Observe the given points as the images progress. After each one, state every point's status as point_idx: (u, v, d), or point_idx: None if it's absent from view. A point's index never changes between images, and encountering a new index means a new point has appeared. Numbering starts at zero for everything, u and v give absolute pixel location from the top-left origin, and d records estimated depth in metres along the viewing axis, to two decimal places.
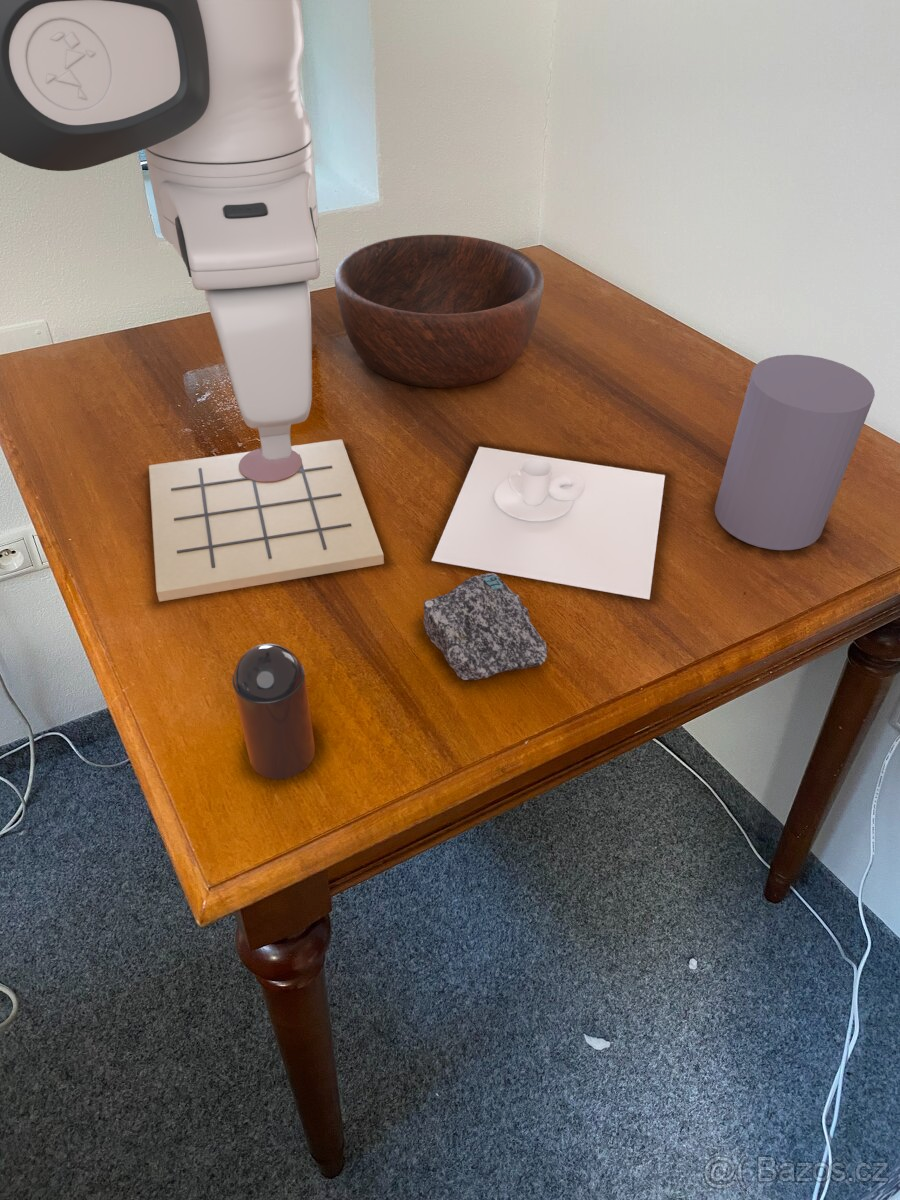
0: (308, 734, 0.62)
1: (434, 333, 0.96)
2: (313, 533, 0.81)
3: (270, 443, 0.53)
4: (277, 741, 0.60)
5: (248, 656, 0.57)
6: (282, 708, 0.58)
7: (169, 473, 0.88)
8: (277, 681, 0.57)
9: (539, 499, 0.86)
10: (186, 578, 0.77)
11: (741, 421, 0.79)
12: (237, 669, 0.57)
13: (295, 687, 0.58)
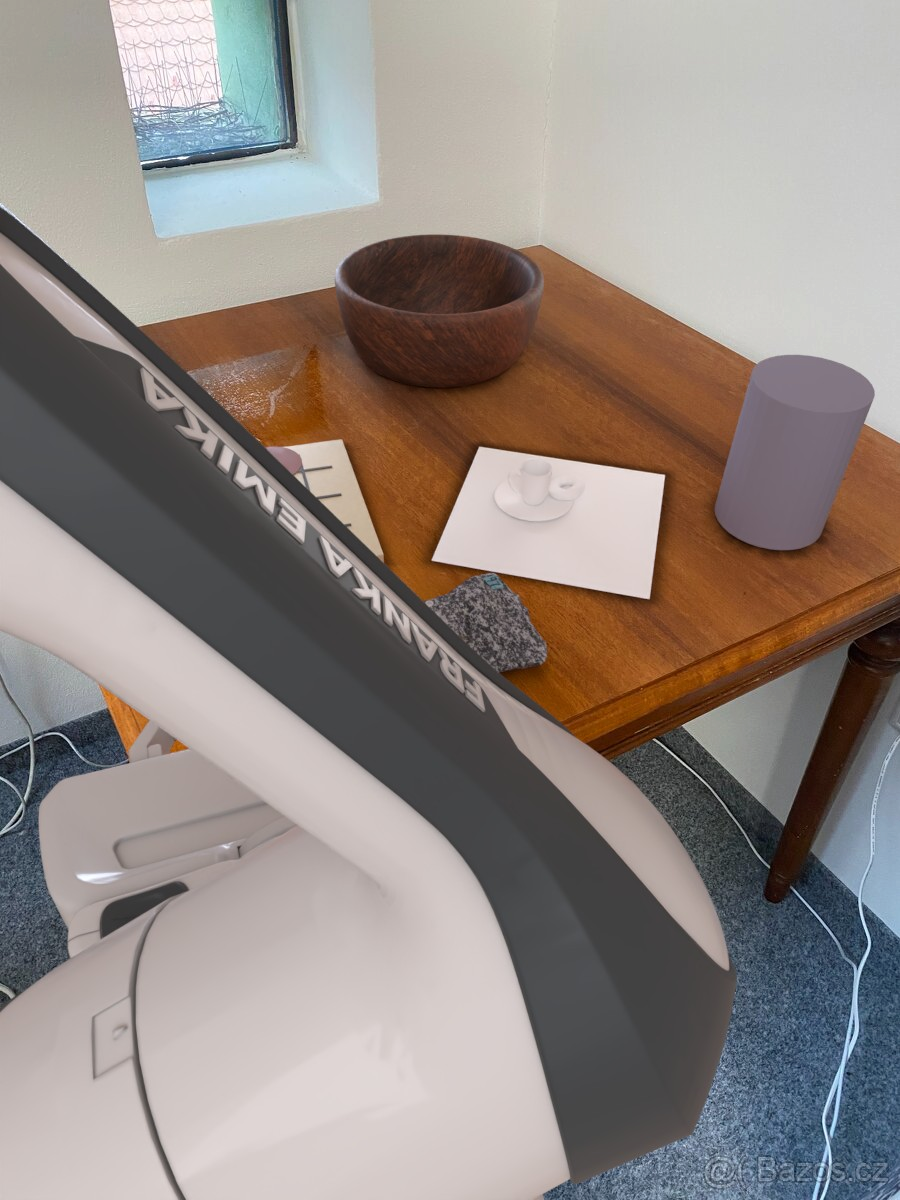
0: None
1: (434, 333, 0.96)
2: None
3: None
4: None
5: None
6: None
7: None
8: None
9: (539, 499, 0.86)
10: None
11: (741, 421, 0.79)
12: None
13: None
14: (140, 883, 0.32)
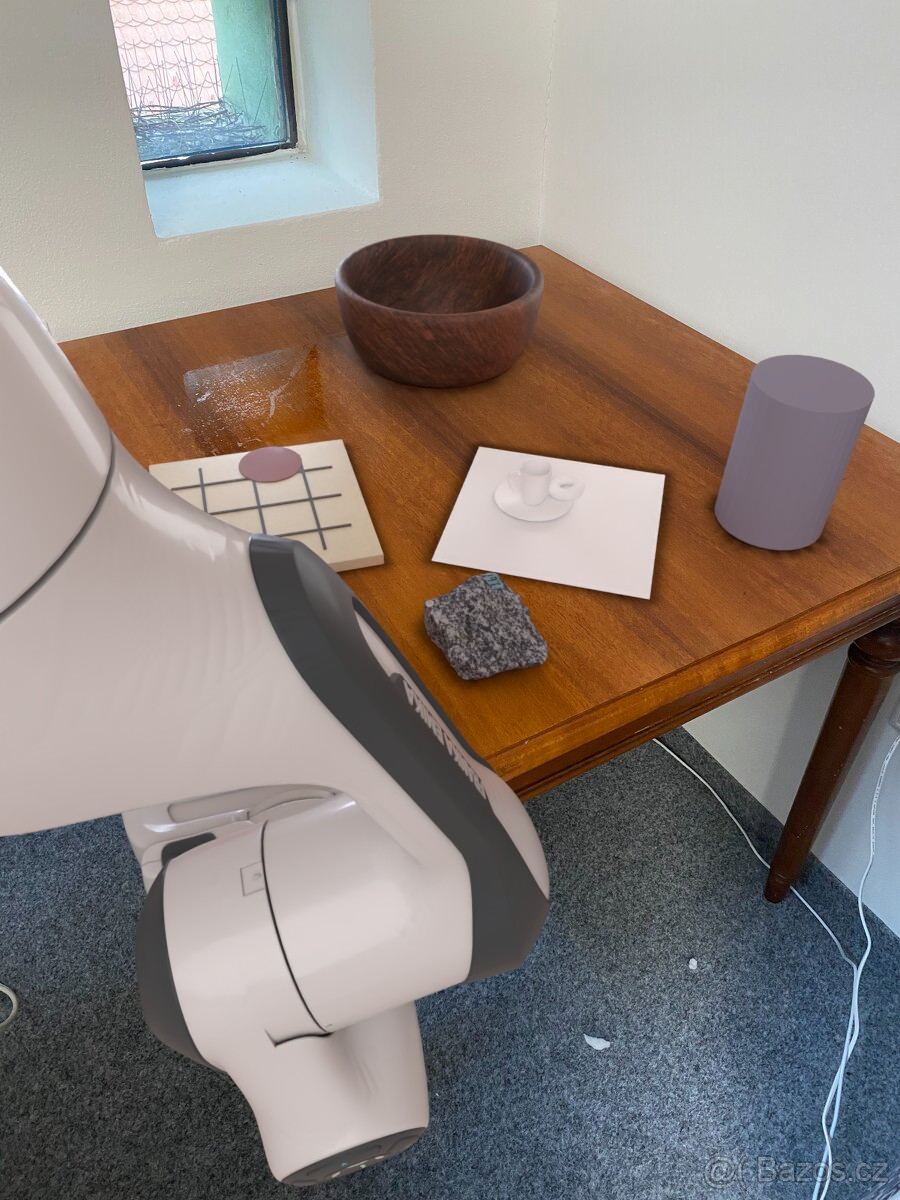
0: None
1: (434, 333, 0.96)
2: (313, 533, 0.81)
3: None
4: None
5: None
6: None
7: (169, 473, 0.88)
8: None
9: (539, 499, 0.86)
10: None
11: (741, 421, 0.79)
12: None
13: None
14: (185, 832, 0.50)
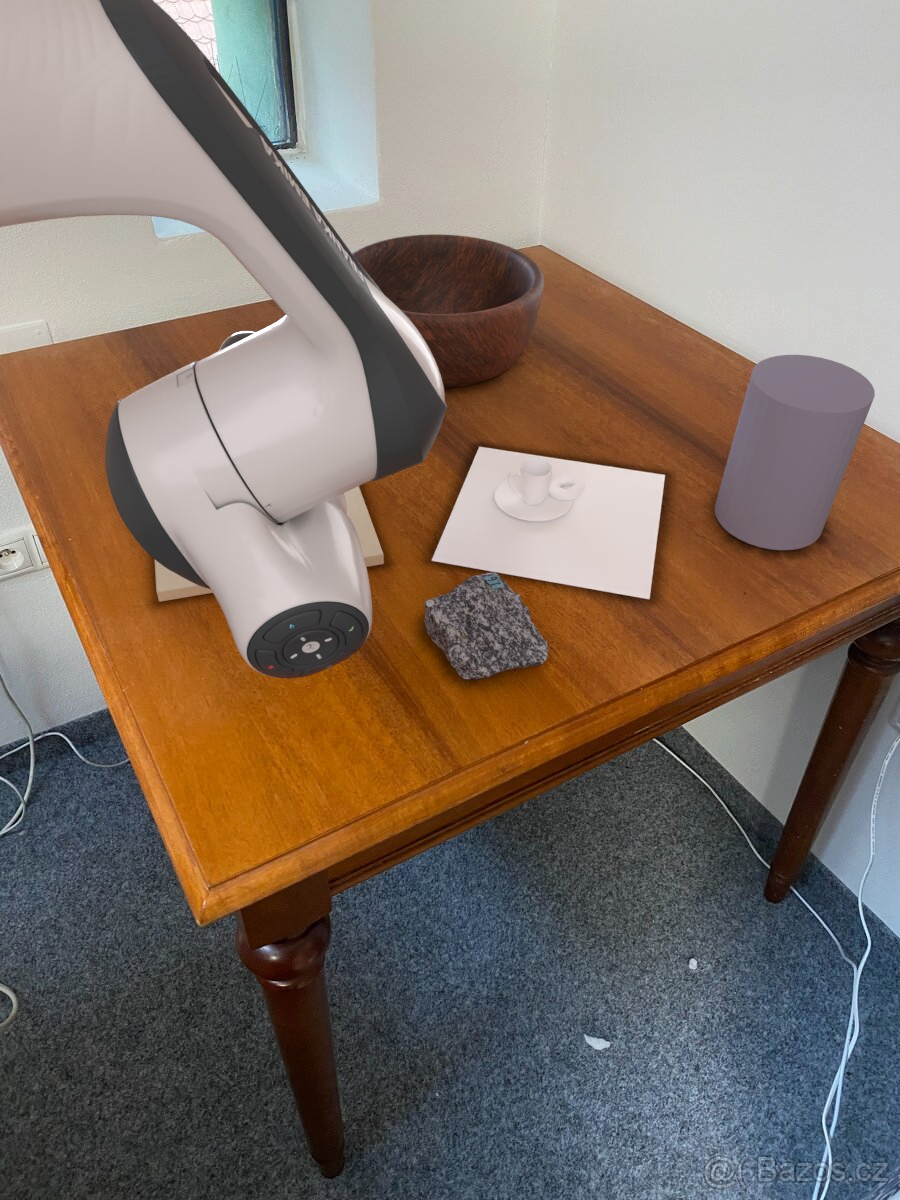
0: None
1: (434, 333, 0.96)
2: None
3: None
4: None
5: (230, 337, 0.66)
6: None
7: None
8: None
9: (539, 499, 0.86)
10: None
11: (741, 421, 0.79)
12: (220, 349, 0.66)
13: None
14: None
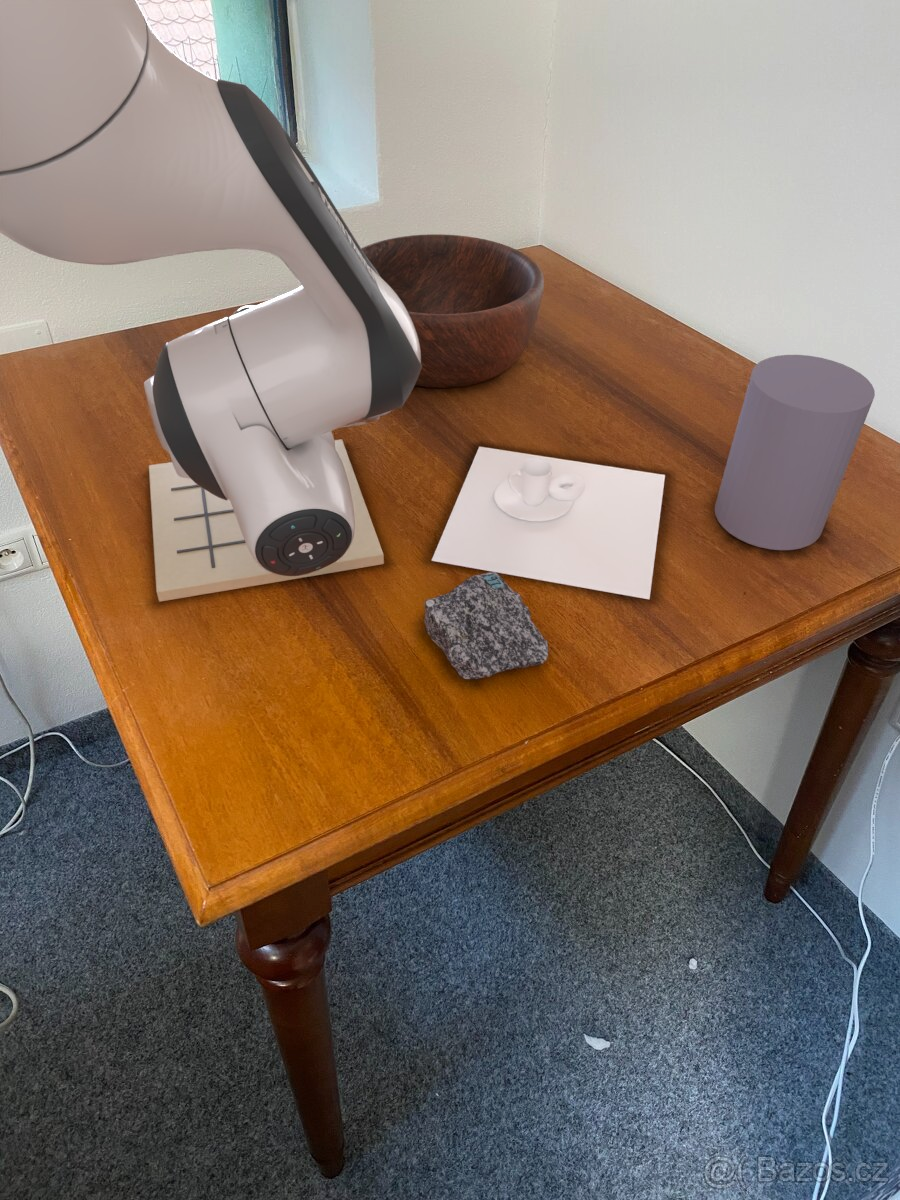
0: None
1: (434, 333, 0.96)
2: None
3: None
4: None
5: (238, 310, 0.79)
6: None
7: (169, 473, 0.88)
8: None
9: (539, 499, 0.86)
10: (186, 578, 0.77)
11: (741, 421, 0.79)
12: None
13: None
14: None
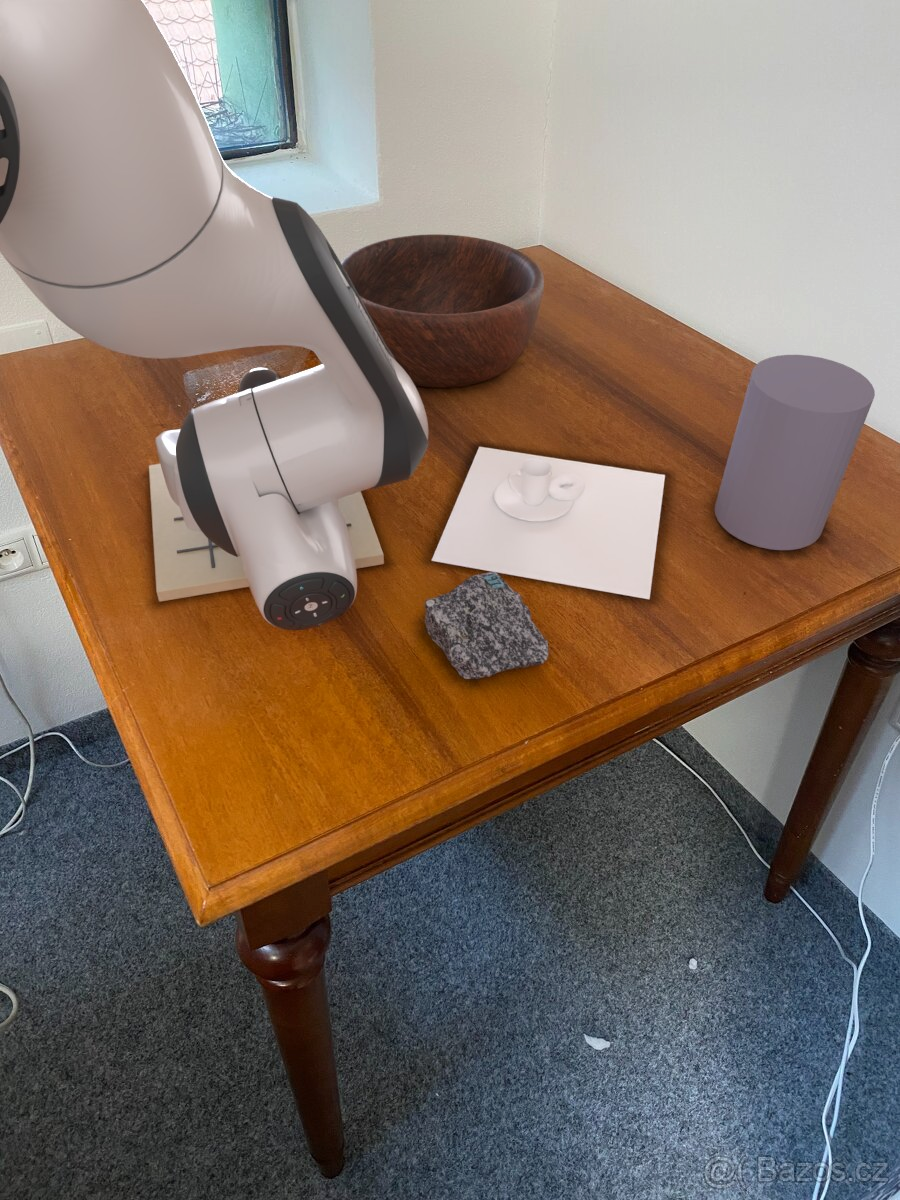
0: None
1: (434, 333, 0.96)
2: None
3: None
4: None
5: (248, 372, 0.83)
6: None
7: None
8: None
9: (539, 499, 0.86)
10: (186, 578, 0.77)
11: (741, 421, 0.79)
12: (240, 382, 0.83)
13: None
14: None
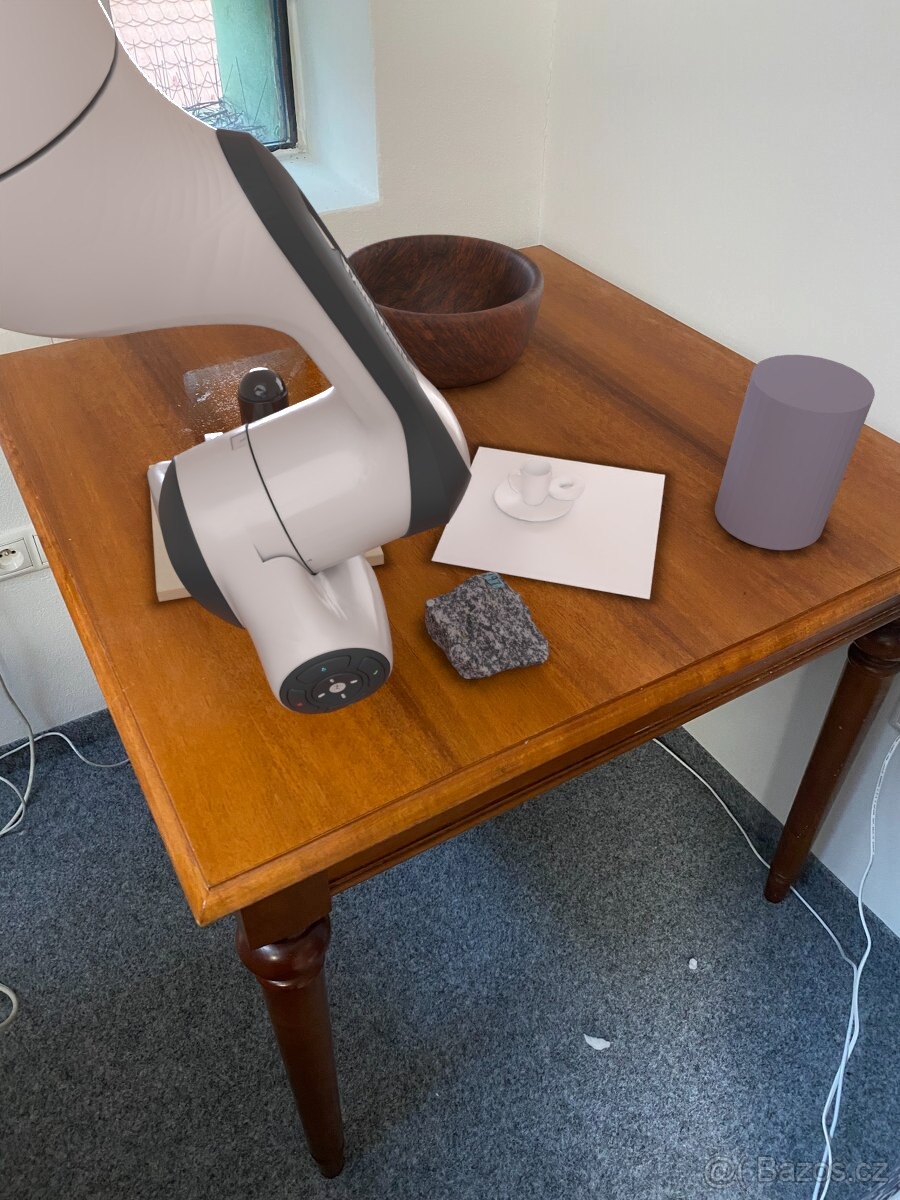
0: None
1: (434, 333, 0.96)
2: None
3: None
4: None
5: (248, 372, 0.83)
6: (271, 410, 0.83)
7: None
8: (268, 387, 0.82)
9: (539, 499, 0.86)
10: None
11: (741, 421, 0.79)
12: (240, 382, 0.83)
13: (281, 396, 0.83)
14: None
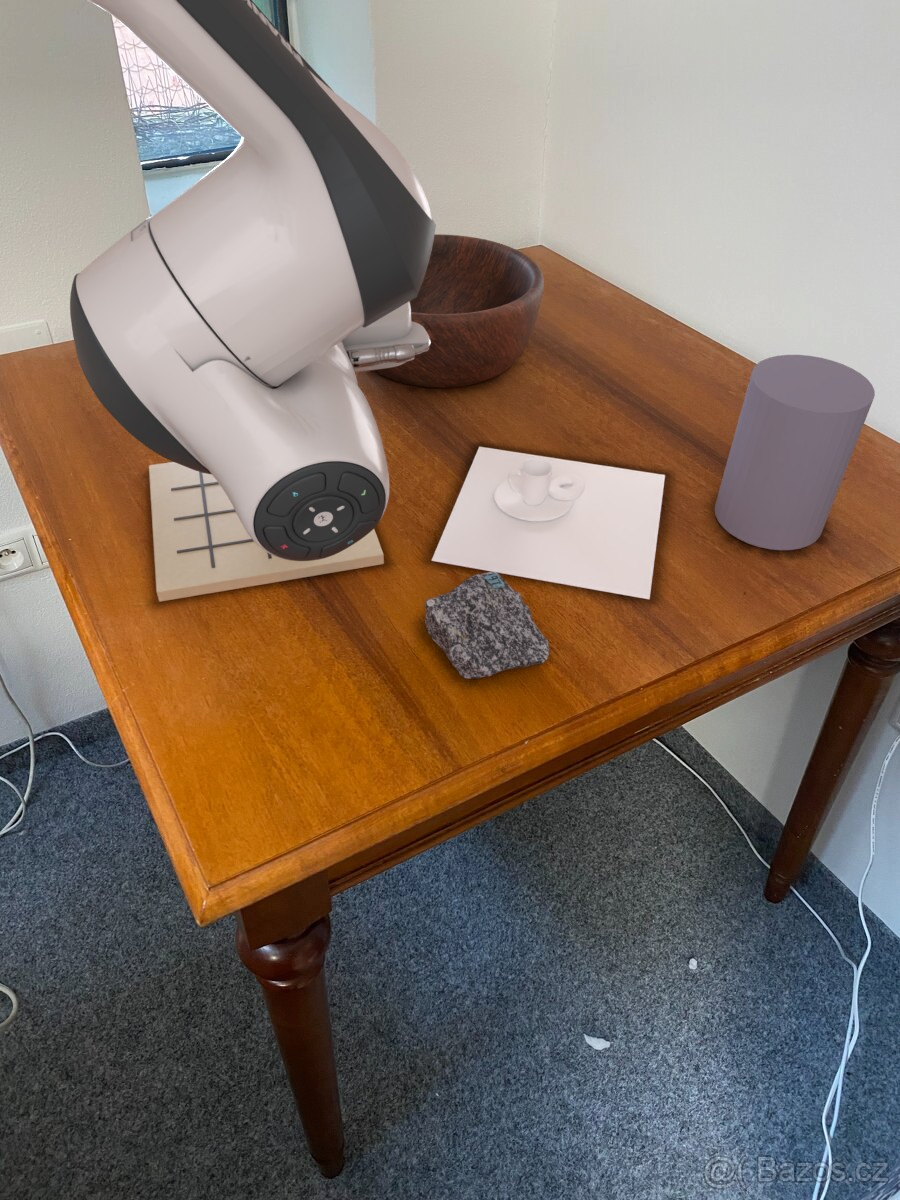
0: None
1: (434, 333, 0.96)
2: None
3: None
4: None
5: None
6: None
7: (169, 473, 0.88)
8: None
9: (539, 499, 0.86)
10: (186, 578, 0.77)
11: (741, 421, 0.79)
12: None
13: None
14: None
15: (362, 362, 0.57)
